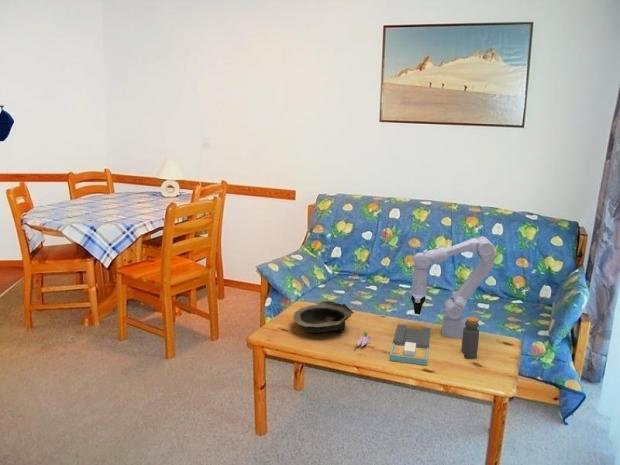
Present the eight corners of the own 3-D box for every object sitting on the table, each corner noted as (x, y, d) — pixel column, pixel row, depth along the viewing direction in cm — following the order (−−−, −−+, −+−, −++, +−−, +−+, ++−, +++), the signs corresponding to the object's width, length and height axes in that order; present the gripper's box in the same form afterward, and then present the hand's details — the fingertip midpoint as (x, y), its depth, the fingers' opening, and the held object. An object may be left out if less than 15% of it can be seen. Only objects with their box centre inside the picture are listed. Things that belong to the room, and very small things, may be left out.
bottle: (474, 360, 206) (477, 322, 203) (459, 356, 209) (462, 319, 206) (478, 354, 211) (482, 317, 207) (463, 350, 214) (466, 314, 210)
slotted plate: (430, 334, 228) (430, 328, 228) (428, 352, 211) (428, 345, 211) (397, 330, 232) (397, 324, 231) (392, 348, 215) (393, 340, 214)
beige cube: (414, 357, 206) (415, 347, 206) (414, 361, 203) (414, 351, 202) (404, 355, 207) (404, 346, 206) (403, 360, 204) (403, 350, 203)
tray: (428, 352, 211) (428, 346, 211) (426, 365, 200) (427, 359, 200) (392, 348, 214) (393, 342, 214) (389, 361, 203) (389, 354, 203)
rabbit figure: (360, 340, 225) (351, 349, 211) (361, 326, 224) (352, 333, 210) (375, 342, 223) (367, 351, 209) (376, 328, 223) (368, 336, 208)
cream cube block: (415, 352, 210) (416, 343, 209) (414, 357, 206) (415, 347, 206) (404, 351, 211) (405, 341, 210) (404, 355, 207) (404, 345, 207)
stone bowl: (361, 325, 236) (361, 305, 233) (332, 349, 216) (332, 328, 213) (313, 312, 249) (312, 294, 246) (281, 334, 229) (280, 314, 226)
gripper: (410, 276, 231) (408, 306, 234) (408, 286, 217) (406, 318, 220) (427, 277, 229) (425, 308, 232) (426, 288, 215) (424, 320, 218)
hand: (417, 313), depth 226 cm, fingers closed
